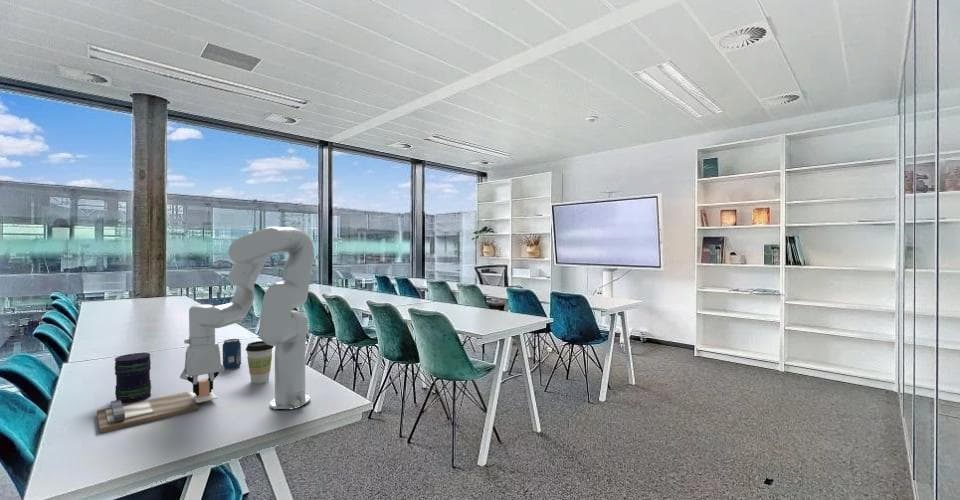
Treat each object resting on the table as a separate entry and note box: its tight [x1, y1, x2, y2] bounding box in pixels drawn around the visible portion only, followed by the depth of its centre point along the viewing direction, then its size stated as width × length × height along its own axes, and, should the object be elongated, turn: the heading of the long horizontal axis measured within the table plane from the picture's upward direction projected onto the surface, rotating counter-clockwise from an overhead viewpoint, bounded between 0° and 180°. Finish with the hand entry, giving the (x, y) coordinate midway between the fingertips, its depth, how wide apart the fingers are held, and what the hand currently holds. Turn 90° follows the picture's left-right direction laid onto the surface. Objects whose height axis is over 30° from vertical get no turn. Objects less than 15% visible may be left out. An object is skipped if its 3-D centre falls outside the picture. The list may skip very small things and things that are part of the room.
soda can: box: [222, 338, 242, 370], centre depth 186 cm, size 7×7×12 cm
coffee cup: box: [245, 340, 275, 384], centre depth 168 cm, size 10×10×15 cm
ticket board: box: [96, 391, 199, 434], centre depth 138 cm, size 18×24×4 cm
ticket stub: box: [188, 378, 218, 404], centre depth 148 cm, size 12×6×5 cm, turn 44°
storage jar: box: [114, 352, 152, 405], centre depth 150 cm, size 10×10×15 cm
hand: (203, 392), depth 148 cm, fingers closed on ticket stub, 3 cm apart
